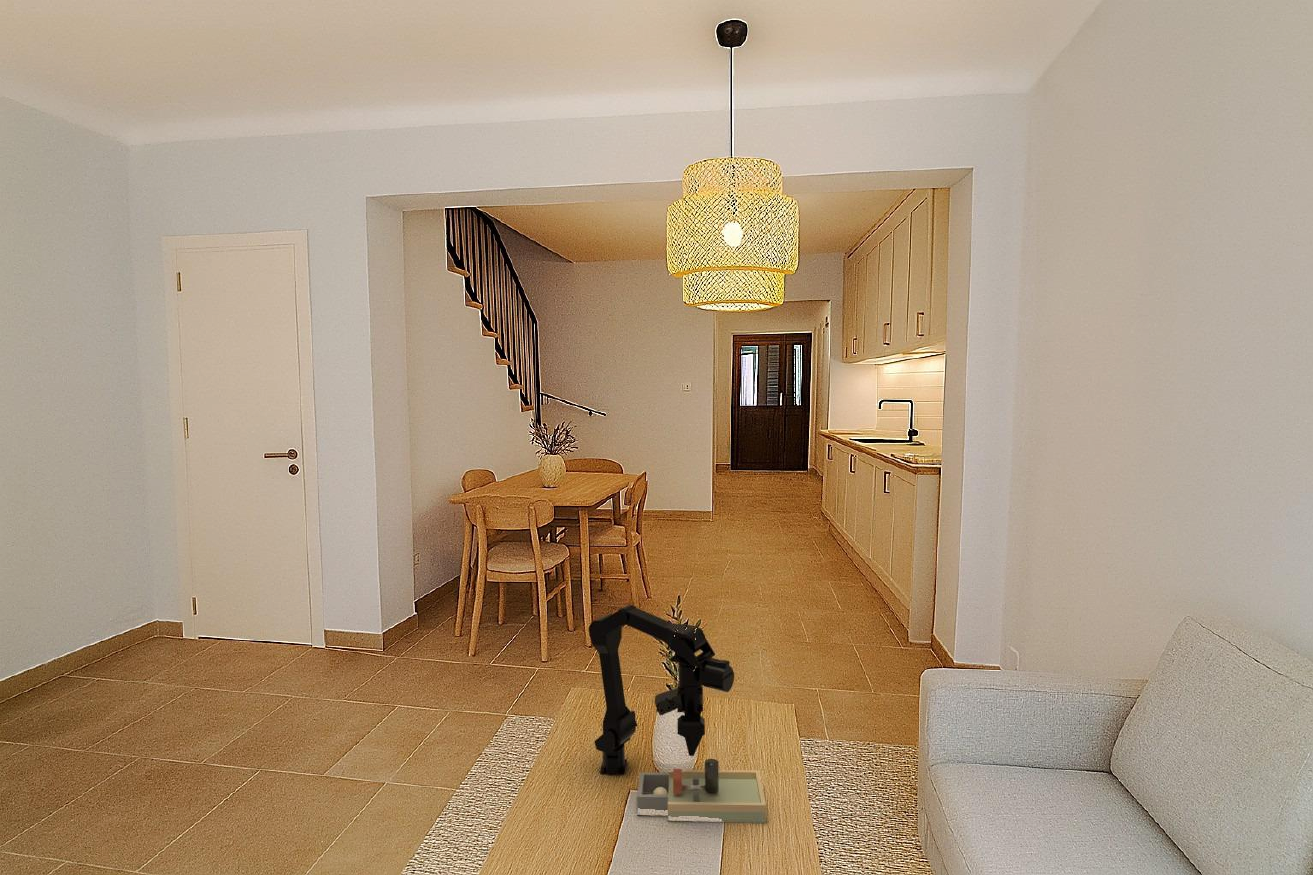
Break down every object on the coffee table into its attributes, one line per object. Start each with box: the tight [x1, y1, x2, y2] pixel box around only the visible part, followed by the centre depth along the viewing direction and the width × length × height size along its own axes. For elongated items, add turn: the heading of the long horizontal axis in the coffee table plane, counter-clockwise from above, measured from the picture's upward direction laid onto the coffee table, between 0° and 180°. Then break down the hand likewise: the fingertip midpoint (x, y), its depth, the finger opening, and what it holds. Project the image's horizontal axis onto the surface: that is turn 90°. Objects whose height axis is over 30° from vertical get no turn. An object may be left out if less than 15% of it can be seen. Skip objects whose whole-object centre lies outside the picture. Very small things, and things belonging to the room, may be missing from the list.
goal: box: [636, 771, 669, 811], centre depth 161 cm, size 10×7×4 cm
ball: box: [652, 787, 668, 795], centre depth 161 cm, size 4×4×4 cm
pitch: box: [667, 769, 767, 824], centre depth 161 cm, size 14×22×4 cm, turn 88°
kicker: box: [672, 758, 719, 794], centre depth 161 cm, size 4×11×7 cm, turn 88°
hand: (691, 745), depth 163 cm, fingers open, 9 cm apart
